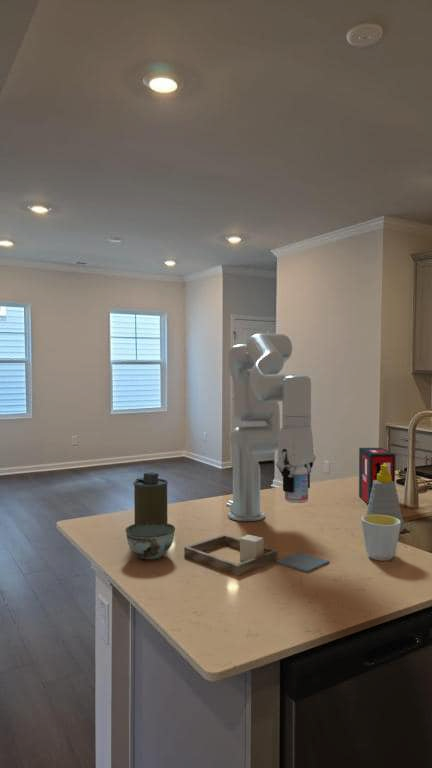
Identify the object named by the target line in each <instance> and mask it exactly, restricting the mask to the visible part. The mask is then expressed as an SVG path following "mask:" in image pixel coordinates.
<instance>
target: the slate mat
mask: <svg viewBox="0 0 432 768" xmlns="http://www.w3.org/2000/svg"><path fill="white" fill-rule="evenodd" d="M275 563H276V564H279V565H282V566H285V567H289V568H291V569H294V570H298V571H301V572H303V573H308V574H309V573H310V572H312V571H314V570H316V569H319V568H320V567H323V566H326V565H327V564H329V563H330V560H328V559H325V558H320V557H319V556H314V555H311V554H308V553H305V552H301V551H297V552H295V553H292V554H290V555H287V556H285V557H282V558H280V559H278V560H276V561H275Z"/></svg>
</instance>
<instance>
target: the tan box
mask: <svg viewBox="0 0 432 768" xmlns="http://www.w3.org/2000/svg"><path fill="white" fill-rule="evenodd" d="M239 539H240V549H239V561H242V562H244V561H247V560H249V559H252V558H255V557H257V556H260V555H263V554H264V547H265V546H264V537H261V536H256V535H251V534H246V535H244V536H242V537H240V538H239Z"/></svg>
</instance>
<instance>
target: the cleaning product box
mask: <svg viewBox="0 0 432 768" xmlns="http://www.w3.org/2000/svg"><path fill="white" fill-rule="evenodd" d="M358 451H359V452H358V457H359V458H358V460H359V461H358V480H359V481H358V498H359V497H360V498H361V499H362V500H363V501H364V502H365V503H366V504H365V503H364V502H363V501H362V500H361V499H360V498H359V499H360V500H361V501H362V502H363V503H364V504H365V505H367V506H368V504H369V499H370V494H371V490H372V487H373V482H374V481H375V480H377V474H378V473H379V471H381V466H380V465H383V464H384V463H386V465H388V472H389V474H391V481H393V482H394V483H395V482H396V454H395V453H393V452H391V451H389V450H388V449H385V448H384V447H359V450H358ZM395 484H396V483H395Z"/></svg>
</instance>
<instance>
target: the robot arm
mask: <svg viewBox="0 0 432 768" xmlns="http://www.w3.org/2000/svg"><path fill="white" fill-rule="evenodd" d="M292 353H293V343H292V340H291V339H290V337H289V336H287V335H286V334H283V333H255V334H253V335H251V336H250V337H249V338H248V339H247V341H246V343H243V344H242V343H241V344H235V345H233V346H231V347H230V348H229V349H228V352H227V365H228V370H229V373H230V377H231V380H232V390H233V391H232V395H233V398H232V399H233V415H234V418H235V420H236V421H238V422H240V423H241V422H242V423H261V422H263V423H264V425H242V426H237V427H235V428H233V429H232V430H231V432H230V435H229V442H230V449H231V457H232V458H231V459H232V500H229V501H228V502H227V503H226V505H225V506H226V508H229V509H230V511H229V512H228V513H227V514H228V518H229V519H231V520H234V521H236V522H237V521H238V522H256V521H261V520H263V519H264V518H265V516H266V515H265V514H266V513H265V512H263V511H262V510H261V465H260V463H259V462H258V460H257V459H256V458H255V457H254V454H269V453H270V454H271V453H275V452H277V462H276V463H275V466H276V467H277V469H278V471H279V473H280V474H281V477H282V491H283V492H284V493H285V492H290V493H293V492H294V477H292V475H293V471H294V467H295V466H298V465H300V464H301V461H302V460H305V465H304V467H306V468H307V470H308V489H310V488H311V478H310V477H311V473H312V468H313V466H314V463H315V461H316V458H317V457H316V456H315V454H314V438H313V430H312V380H311V378H310V377H309V376H307V375H300V374H284V373H282V374H280V372H281V371H282V370H283V368H284V364H285V363H286V362H287V361H288V360H289V359H290V358H291V356H292ZM279 402H282V403H281V405H282V407H281V409H282V411H281V412H282V413H280V405H279V404H280V403H279ZM281 414H282V415H281ZM280 416H282V417H280ZM281 418H282V419H281ZM281 420H282V423H281ZM281 425H282V426H281ZM288 463H289V465H288ZM287 467H288V468H290V469H289V471H288V470H287Z"/></svg>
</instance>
